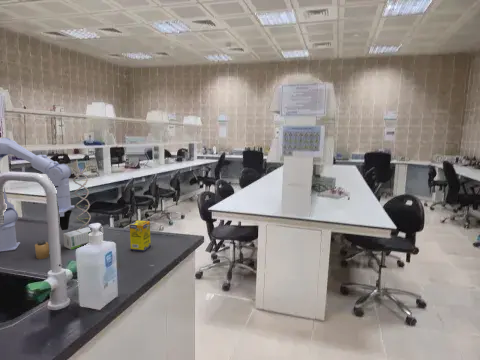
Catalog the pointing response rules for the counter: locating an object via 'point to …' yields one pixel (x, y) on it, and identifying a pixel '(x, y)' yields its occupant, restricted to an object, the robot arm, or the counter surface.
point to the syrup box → (77, 238)
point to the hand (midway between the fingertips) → (65, 229)
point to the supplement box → (140, 235)
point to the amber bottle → (42, 249)
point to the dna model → (82, 197)
